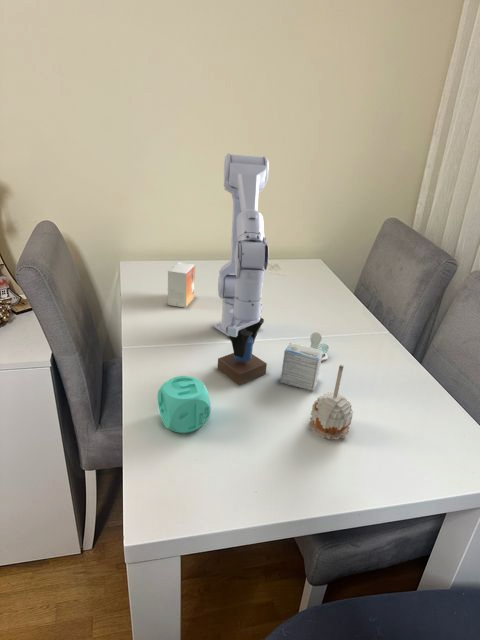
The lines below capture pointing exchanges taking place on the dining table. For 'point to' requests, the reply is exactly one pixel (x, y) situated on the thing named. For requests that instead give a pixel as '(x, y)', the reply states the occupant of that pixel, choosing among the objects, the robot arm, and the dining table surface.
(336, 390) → the caramel apple
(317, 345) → the pacifier
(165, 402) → the decorative dice
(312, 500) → the dining table surface
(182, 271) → the small box
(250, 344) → the blue bottle
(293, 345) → the medicine box
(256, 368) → the walnut block
